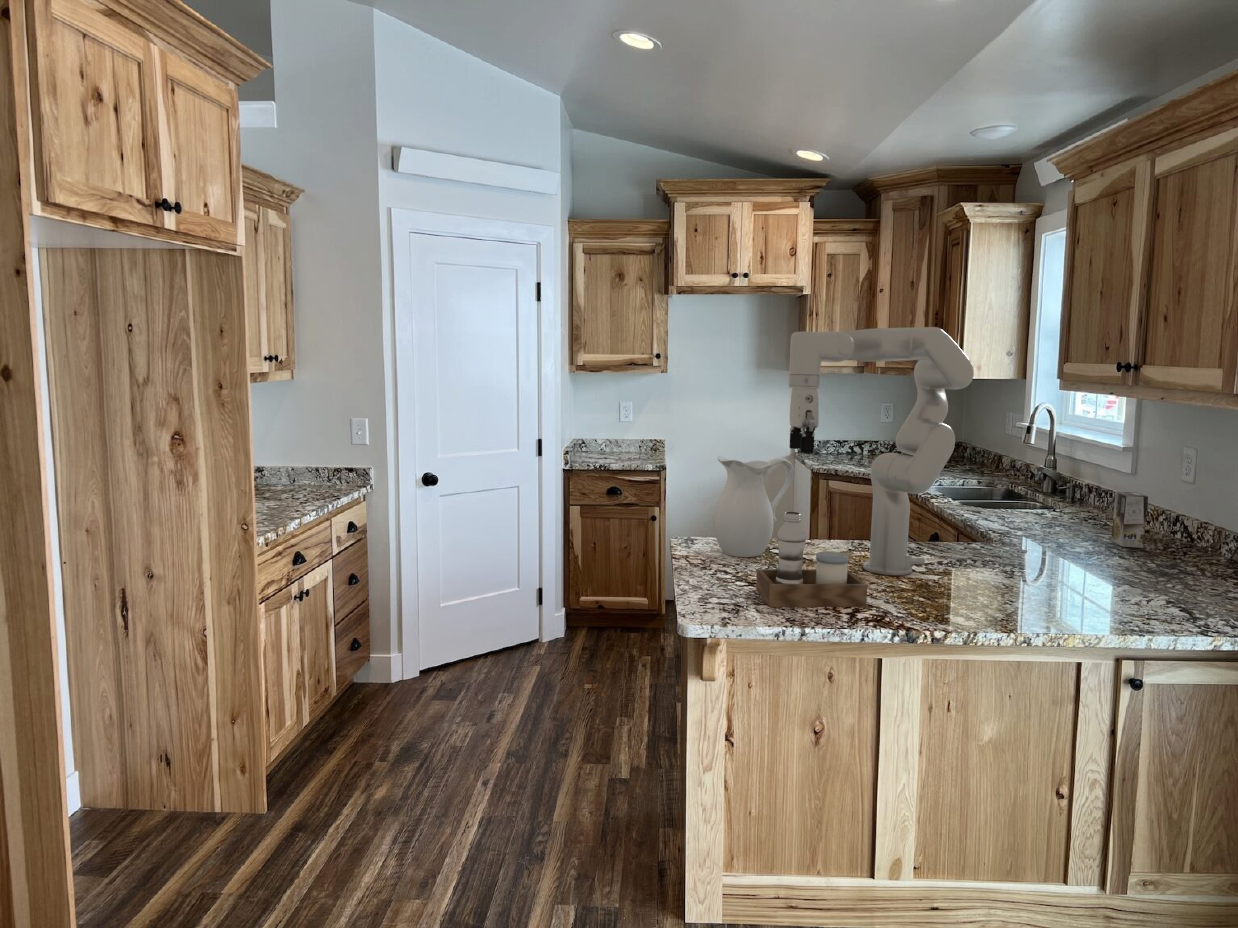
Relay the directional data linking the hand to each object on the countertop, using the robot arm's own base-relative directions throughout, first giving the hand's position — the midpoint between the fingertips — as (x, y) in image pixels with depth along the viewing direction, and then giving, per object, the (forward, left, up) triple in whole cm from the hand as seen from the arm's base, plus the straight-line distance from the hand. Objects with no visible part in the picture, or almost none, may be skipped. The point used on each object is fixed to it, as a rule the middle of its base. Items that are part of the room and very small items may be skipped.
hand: (801, 450), depth 211 cm
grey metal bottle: (+7, +19, -32) cm, 38 cm away
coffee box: (-117, -41, -34) cm, 128 cm away
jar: (-3, +19, -32) cm, 38 cm away
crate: (+2, +19, -33) cm, 38 cm away
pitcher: (+4, -30, -34) cm, 45 cm away
